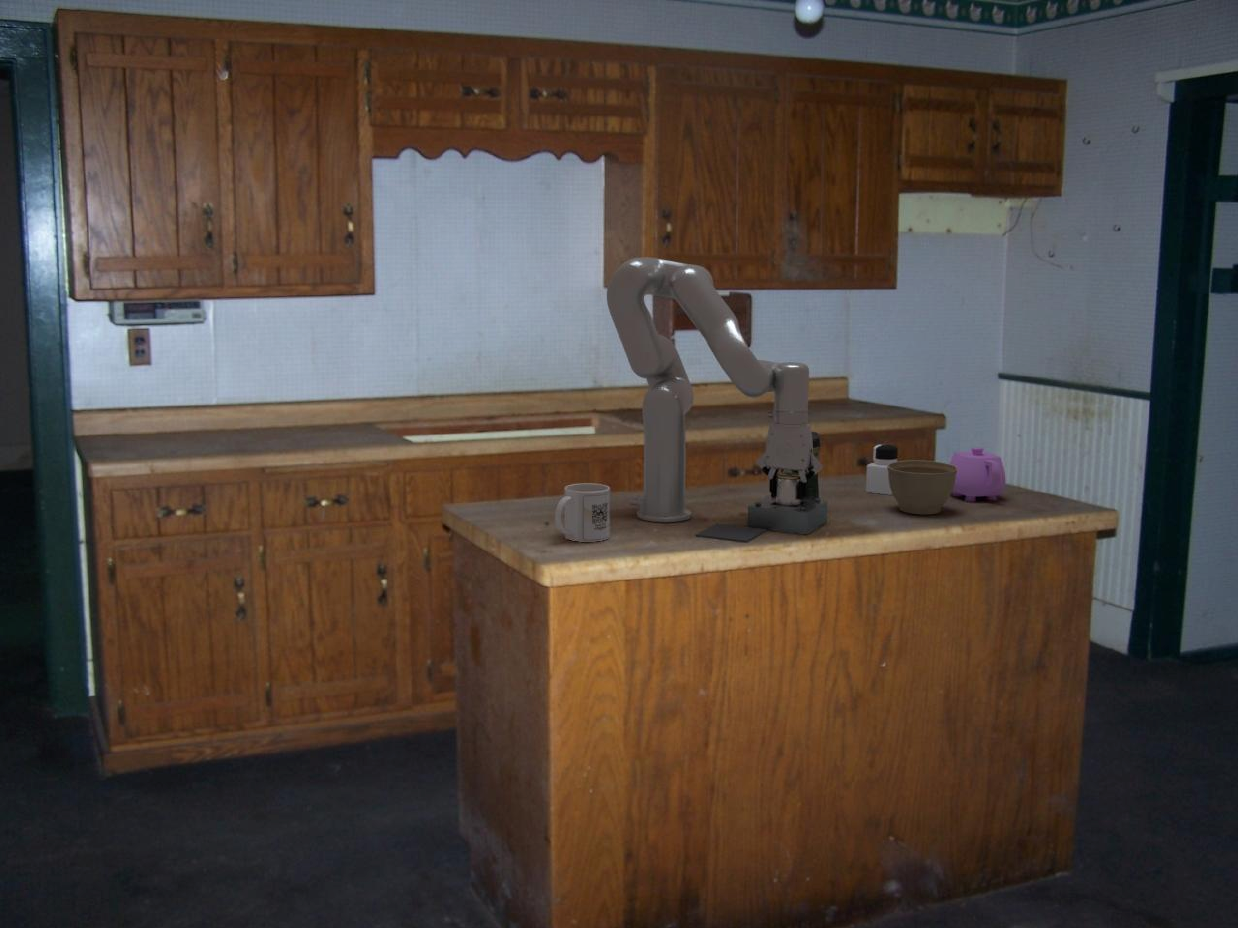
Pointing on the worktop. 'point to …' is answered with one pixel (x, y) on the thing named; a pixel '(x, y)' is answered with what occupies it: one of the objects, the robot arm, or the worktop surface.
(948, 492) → the planter bowl
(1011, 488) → the worktop surface
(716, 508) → the worktop surface
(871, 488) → the medicine bottle
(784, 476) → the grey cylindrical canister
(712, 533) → the rubber mat
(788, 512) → the housing
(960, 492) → the teapot
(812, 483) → the coffee jar
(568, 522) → the mug
